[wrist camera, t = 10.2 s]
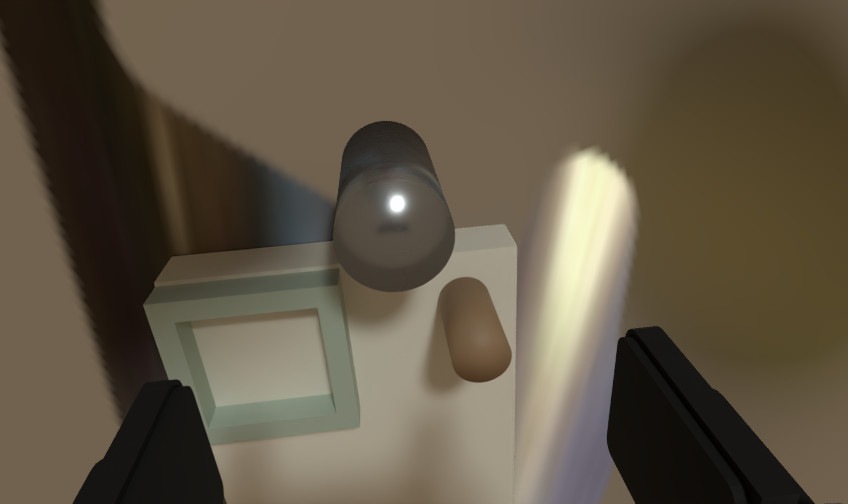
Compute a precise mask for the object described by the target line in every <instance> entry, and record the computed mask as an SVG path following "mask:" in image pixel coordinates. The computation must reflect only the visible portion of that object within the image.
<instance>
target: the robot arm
mask: <svg viewBox="0 0 848 504" xmlns="http://www.w3.org/2000/svg"><path fill="white" fill-rule="evenodd" d="M607 444H608V449H609V452H610V455H611V457H612V459H613V461H614V463H615V465H616V467H617V468H618V470H619V472H620V474H621V476H622V478H623V480H624V482H625V484H626V486H627V488H628V490H629V492H630V494H631V496H632V498H633V500H634V501H635V504H815V503H814V502H813V501H812V500H811V499H810V497H809V496H808V495H807V494H806V493H805V492H804V490H803V489H802V488H801V487H800V486H799V484H798V483H797V482H796V481H795V480H794V479H793V477H792V476H791V475H790V474H789V473H788V472H787V470H786V469H785V468H784V467H783V466H782V465H781V463H780V462H779V461H778V460H777V459H776V457H775V456H774V455H773V454H772V453H771V452H770V450H769V449H768V448H767V447H766V446H765V445H764V444H763V442H762V441H761V440H760V439H759V438H758V436H757V435H756V434H755V433H754V432H753V431H752V430H751V428H750V427H749V426H748V425H747V423H746V422H745V421H744V420H743V419H742V418H741V416H740V415H739V414H738V413H737V412H736V411H735V409H734V408H733V407H732V406H731V405H730V404H729V402H728V401H727V400H726V399H725V398H724V397H723V396H722V395H721V394H720V393H719V392H718V391H717V390H715V389H713V388H711V386H710V385H709V384H708V383H707V382H706V381H705V379H704V378H703V377H702V376H701V375H700V373H699V372H698V371H697V370H696V369H695V367H694V366H693V365H692V364H691V363H690V361H689V360H688V359H687V358H686V357H685V356H684V354H683V353H682V352H681V351H680V350H679V348H678V347H677V346H676V345H675V344H674V343H673V341H672V340H671V339H670V338H669V337H668V335H667V334H666V333H665V332H664V331H663V330H662V329H661V328H660V327H658V326H653V327H644V328H635V329H630V330H628V331H627V333H626V336H625V337H621V338H620V339H619V340H618V345H617V353H616V362H615V370H614V379H613V387H612V396H611V404H610V413H609V421H608V430H607ZM223 498H224V487H223V482H222V479H221V476H220V473H219V470H218V466H217V463H216V460H215V457H214V454H213V451H212V448H211V445H210V442H209V439H208V436H207V433H206V430H205V427H204V424H203V420H202V417H201V414H200V411H199V408H198V405H197V402H196V399H195V396H194V393H193V390H192V388H191V387H190V386H183V385H182V383H181V382H180V380H177V379H174V380H165V381H156V382H147V383H146V384H144V385H143V387H142V388H141V390H140V392H139V394H138V395H137V397H136V399H135V401H134V403H133V405H132V407H131V408H130V410H129V412H128V414H127V416H126V418H125V419H124V421H123V423H122V425H121V427H120V429H119V431H118V432H117V434H116V437H115V438H114V440H113V442H112V444H111V446H110V447H109V449H108V451H107V453H106V455H105V457H104V458H103V459H102V460H100V461H99V462H98V463H96V464H95V466H94V467H93V468H92V470H91V471H90V473H89V475H88V476H87V478H86V480H85V482H84V484H83V486H82V488H81V489H80V491H79V493H78V495H77V496H76V498H75V500H74V502H73V504H223ZM826 504H841V503H826Z"/></svg>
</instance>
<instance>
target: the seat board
mask: <svg viewBox="0 0 848 504" xmlns="http://www.w3.org/2000/svg"><path fill="white" fill-rule="evenodd" d="M154 284H155V288H154V289H153V291H152V292H151V294H150V295H149V297H148V298H147V300H146V301H145V303H144V304H143V307H144V310H145V313H146V315H147V318H148V321H149V324H150V327H151V330H152V333H153V336H154V338H155V341H156V344H157V347H158V350H159V353H160V356H161V359H162V362H163V364H164V367H165V370H166V373H167V376H168V379H169V380H174V379H177V380H180V382H181V383H182V385H183V386H190V387H191V388H192V390H193V393H194V396H195V399H196V402H197V405H198V408H199V411H200V414H201V417H202V420H203V424H204V427H205V430H206V433H207V436H208V439H209V442H210V445H211V448H212V451H213V454H214V457H215V460H216V463H217V466H218V470H219V473H220V476H221V479H222V482H223V487H224V497H225V500H226V503H227V504H513V494H514V425H515V357H516V289H517V245H516V243H515V242H514V240H513V238H512V236H511V234H510V233H509V231H508V229H507V228H506V226H505V224H500V225H489V226H479V227H469V228H458V229H455V244H454V249H453V252H452V255H451V257H450V259H449V261H448V263H447V264H446V266H445V267H444V268H443V270H442V271H441V272H440V273H439V274H438V275H437V276H436V277H434V278H433V279H432V280H430V281H429V282H428V283H426V284H424V285H422V286H420V287H417V288H415V289H411V290H408V291H402V292H383V291H378V290H374V289H371V288H368V287H366V286H364V285H362V284H360V283H359V282H357V281H355V280H354V279H353V278H352V277H350V276H349V275H348V274H347V272H346V271H345V270H344V269H343V268H342V266H341V265H340V263H339V261H338V259H337V257H336V254H335V251H334V246H333V241H326V242H316V243H305V244H295V245H285V246H275V247H265V248H255V249H244V250H234V251H224V252H214V253H204V254H193V255H183V256H173V257H171V259H170V260H169V262H168V263H167V264H166V266H165V267H164V269H163V270H162V272H161V273H160V275H159V276H158V278H157V279H156V280H155V282H154Z"/></svg>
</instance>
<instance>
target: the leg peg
mask: <svg viewBox="0 0 848 504" xmlns="http://www.w3.org/2000/svg"><path fill="white" fill-rule="evenodd" d="M454 244H455V227H454V223H453V219H452V217H451V214H450V211H449V208H448V205H447V203H446V200H445V197H444V194H443V192H442V189H441V186H440V183H439V180H438V178H437V175H436V172H435V169H434V166H433V164H432V161H431V158H430V155H429V153H428V150H427V147H426V145H425V143H424V142H423V140H422V139H421V137H420V136H419V135H418V134H417V133H416V132H415V131H414V130H412V129H411V128H409V127H407V126H406V125H403V124H401V123H397V122H392V121H379V122H374V123H371V124H368V125H366V126H364V127H363V128H361V129H359V130H358V131H357V132H356V133H355V134H354V135H353V136H352V137H351V138H350V140H349V141H348V143H347V145H346V147H345V149H344V152H343V157H342V164H341V172H340V180H339V189H338V197H337V205H336V213H335V221H334V229H333V246H334V251H335V254H336V257H337V259H338V261H339V263H340V265H341V266H342V268H343V269H344V270H345V271H346V272H347V274H348V275H349V276H350V277H352V278H353V279H354V280H355V281H357V282H359V283H360V284H362V285H364V286H366V287H368V288H371V289H374V290H378V291H383V292H402V291H408V290H411V289H415V288H417V287H420V286H422V285H424V284H426V283H428V282H429V281H430V280H432V279H433V278H434V277H436V276H437V275H438V274H439V273H440V272H441V271H442V270H443V268H444V267H445V266H446V264H447V263H448V261H449V259H450V257H451V255H452V252H453V249H454Z"/></svg>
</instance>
